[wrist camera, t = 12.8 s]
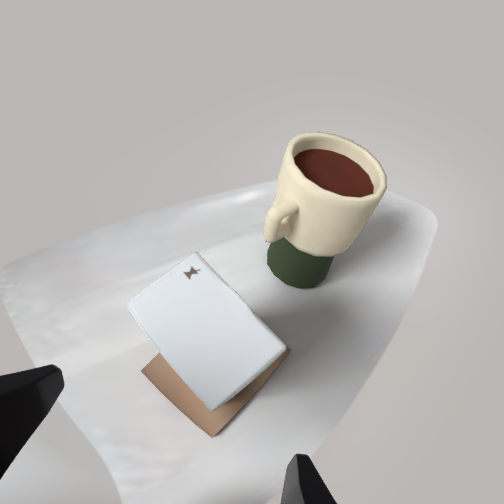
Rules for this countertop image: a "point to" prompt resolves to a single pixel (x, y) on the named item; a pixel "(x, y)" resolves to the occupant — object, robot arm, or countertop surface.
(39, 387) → the robot arm
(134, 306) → the skincare box
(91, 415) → the countertop surface
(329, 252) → the character mug
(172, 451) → the countertop surface
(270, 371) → the curved brown sheet
